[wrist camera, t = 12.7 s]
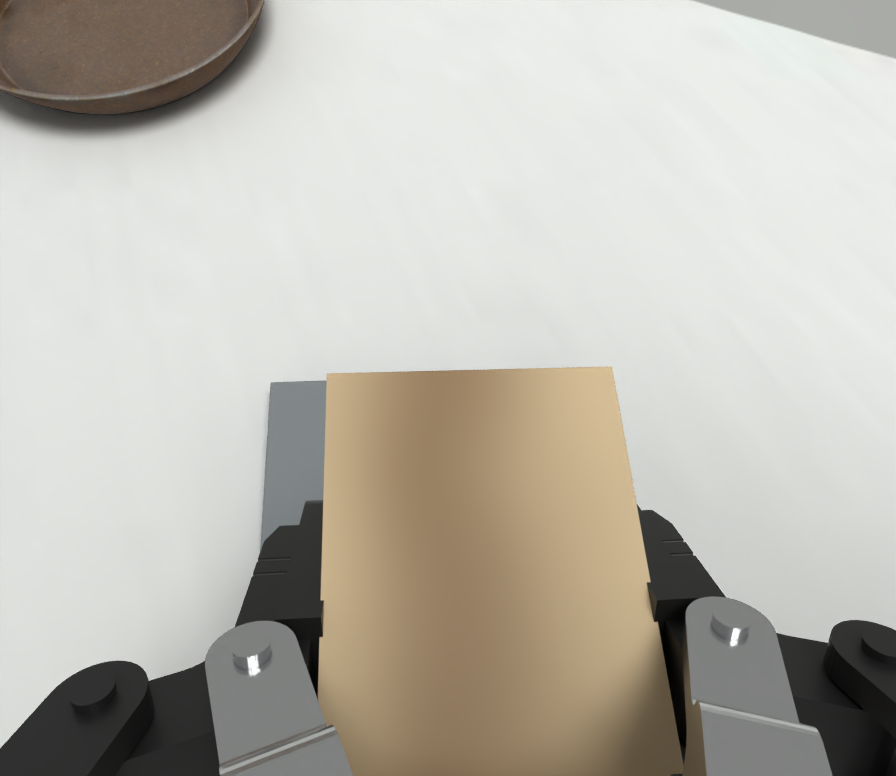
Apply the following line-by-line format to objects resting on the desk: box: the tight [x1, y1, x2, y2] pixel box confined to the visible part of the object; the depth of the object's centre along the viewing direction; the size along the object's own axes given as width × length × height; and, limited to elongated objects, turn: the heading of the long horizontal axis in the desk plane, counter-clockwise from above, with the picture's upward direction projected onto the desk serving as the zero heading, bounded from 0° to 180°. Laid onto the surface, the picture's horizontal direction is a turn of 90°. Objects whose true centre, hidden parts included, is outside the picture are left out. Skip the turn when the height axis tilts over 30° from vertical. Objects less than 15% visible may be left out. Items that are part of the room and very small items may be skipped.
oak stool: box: [318, 367, 684, 776], centre depth 14 cm, size 5×8×9 cm, turn 3°
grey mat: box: [260, 381, 327, 552], centre depth 23 cm, size 22×14×1 cm, turn 3°
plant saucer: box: [0, 0, 264, 114], centre depth 36 cm, size 18×18×3 cm
